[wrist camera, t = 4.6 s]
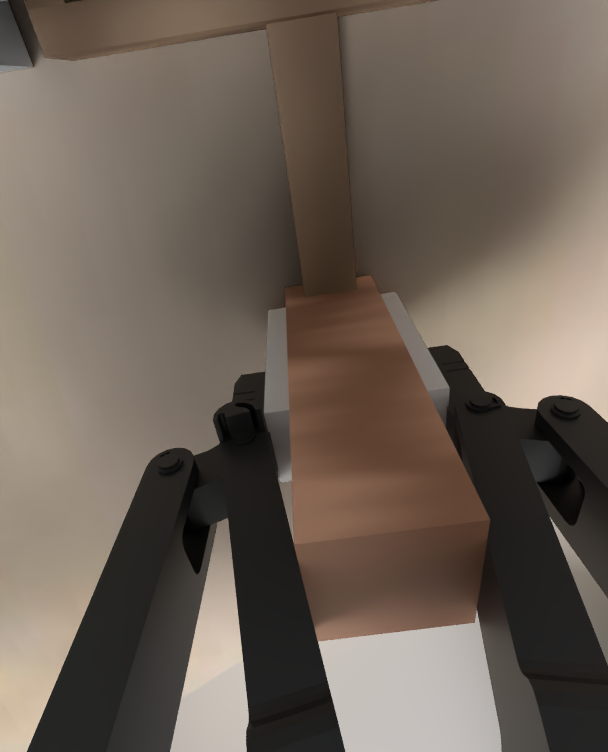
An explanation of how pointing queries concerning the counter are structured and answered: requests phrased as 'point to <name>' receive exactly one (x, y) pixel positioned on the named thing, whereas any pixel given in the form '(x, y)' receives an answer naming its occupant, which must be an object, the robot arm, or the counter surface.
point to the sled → (330, 338)
